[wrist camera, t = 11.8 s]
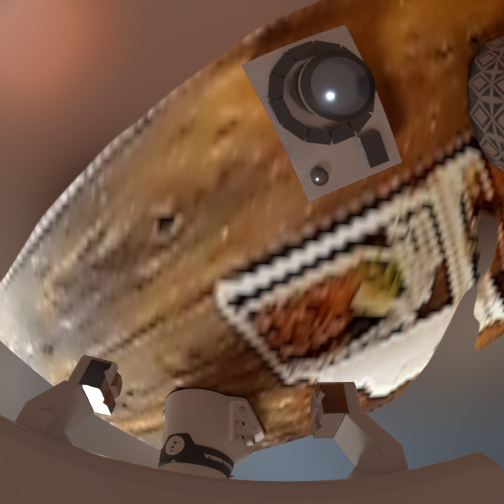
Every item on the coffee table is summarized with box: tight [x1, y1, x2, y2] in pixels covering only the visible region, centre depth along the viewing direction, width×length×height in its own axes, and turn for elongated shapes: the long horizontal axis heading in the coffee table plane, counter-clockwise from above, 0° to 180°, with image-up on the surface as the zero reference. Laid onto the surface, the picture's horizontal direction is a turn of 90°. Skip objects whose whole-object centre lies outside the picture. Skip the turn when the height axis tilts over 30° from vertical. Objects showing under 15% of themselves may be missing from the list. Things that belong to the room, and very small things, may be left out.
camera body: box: [242, 25, 402, 201], centre depth 27 cm, size 14×10×7 cm
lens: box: [290, 50, 375, 122], centre depth 21 cm, size 5×5×7 cm
